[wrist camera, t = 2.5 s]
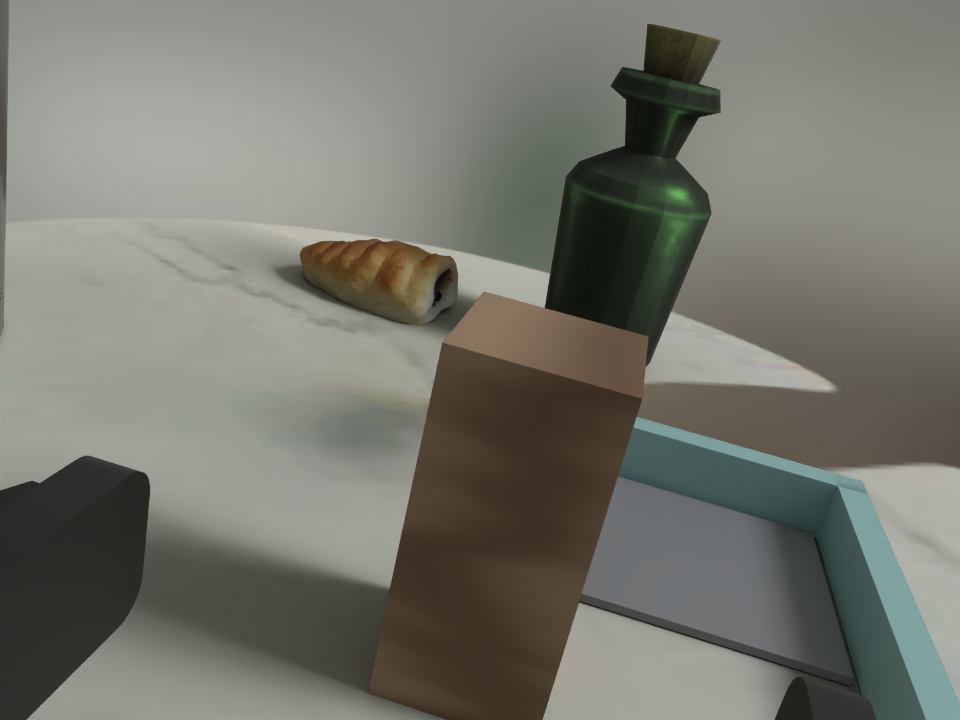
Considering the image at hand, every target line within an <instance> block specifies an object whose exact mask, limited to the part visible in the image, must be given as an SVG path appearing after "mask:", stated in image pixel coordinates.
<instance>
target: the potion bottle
mask: <svg viewBox="0 0 960 720" xmlns="http://www.w3.org/2000/svg"><path fill="white" fill-rule="evenodd" d="M719 43H720V40H718V39H714V38H711V37H706V36H703V35H699V34H694V33H690V32H685V31H681V30H677V29H672V28H667V27H663V26H658V25H653V24H647V36H646V49H645V60H644V71H641V70H636V69H631V68H625V67H622V68H621V70H620V72H619V73H618V75H617V77H616V78H615V80H614V81H613V83H612V85H611V87H612V88H613V89H614V90H615V91H617V92H618V93H619V94H620V95H621V96H623V97H624V98H625V99H626V132H625V146H623V147H620V148H617V149H613V150H611V151H608V152H605V153H602V154H599V155H596V156H593V157H591V158H588V159H585V160H582V161H580V162H578V164H577V165H576V166H575V167H574V168H573V169H572V171H570V173H569V174H568V175H567V176H566V181H565V188H564V193H563V199H562V206H561V212H560V218H559V224H558V230H557V236H556V243H555V249H554V255H553V261H552V267H551V273H550V279H549V285H548V291H547V298H546V304H545V308H546V309H549V310H553V311H557V312H560V313H564V314H568V315H571V316H575V317H579V318H582V319H586V320H590V321H594V322H597V323H601V324H605V325H608V326H612V327H616V328H619V329H623V330H627V331H630V332H634V333H638V334H641V335H645V336H649V337H648V347H647V357H646V366H647V365H648V364H649V363H650V361H651V359H652V356H653V354H654V351H655V349H656V346H657V344H658V342H659V339H660V337H661V334H662V332H663V329H664V327H665V325H666V322H667V320H668V317H669V315H670V313H671V310H672V308H673V305H674V303H675V300H676V298H677V296H678V293H679V290H680V288H681V286H682V284H683V281H684V279H685V276H686V274H687V271H688V269H689V267H690V264H691V262H692V259H693V257H694V255H695V252H696V250H697V247H698V245H699V242H700V240H701V237H702V235H703V233H704V230H705V228H706V225H707V223H708V220H709V218H710V216H711V208H710V203H709V198H708V194H707V193H706V191H705V190H703V188H702V187H701V186H700V185H699V184H698V183H697V181H696V180H695V179H694V178H693V177H692V176H691V175H690V174H689V172H688V171H687V170H686V169H685V168H684V167H683V166H682V165H681V164H680V163H679V162H678V161H677V160H676V156H677V154H678V153H679V151H680V149H681V147H682V146H683V144H684V142H685V141H686V139H687V137H688V135H689V133H690V132H691V130H692V128H693V127H694V125H695V123H696V121H697V119H698V118H699V117H702V116H707V115H712V114H716V113H720V90H718V89H715V88H712V87H708V86H704V85H700V84H699V83H700V81H701V79H702V77H703V75H704V73H705V71H706V69H707V67H708V65H709V63H710V61H711V59H712V57H713V55H714V53H715V51H716V49H717V47H718V45H719Z"/></svg>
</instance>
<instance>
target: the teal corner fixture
mask: <svg viewBox="0 0 960 720" xmlns="http://www.w3.org/2000/svg"><path fill="white" fill-rule="evenodd" d="M814 538H816V539H817V542H818V546H819V549H820V553H821V556H822V560H823V563H824V567H825V570H826V573H827V577H828V580H829V584H830V587H831V591H832V594H833V598H834V601H835V604H836V608H837V611H838V615H839V618H840V622H841V625H842V629H843V632H844V635H845V639H846V642H847V646H848V649H849V653H850V656H851V659H852V663H853V666H854V670H855V673H856V677H857V680H858V684H859V687H860V690H861V694H862V696H864V697H866V698H867V699H868V700H869V701H870V703H871V705H872V707H873V711H874V714H875V717H876V720H960V703H959V701H958V698H957V696H956V694H955V692H954V689H953V687H952V685H951V682H950V680H949V678H948V676H947V673H946V671H945V669H944V666H943V664H942V662H941V660H940V657H939V655H938V653H937V650H936V648H935V646H934V644H933V641H932V639H931V637H930V634H929V632H928V630H927V628H926V625H925V623H924V621H923V618H922V616H921V614H920V612H919V609H918V607H917V605H916V603H915V600H914V598H913V596H912V593H911V591H910V589H909V587H908V584H907V582H906V580H905V577H904V575H903V573H902V571H901V568H900V566H899V564H898V561H897V559H896V557H895V555H894V552H893V550H892V548H891V545H890V543H889V541H888V539H887V536H886V534H885V532H884V529H883V527H882V525H881V523H880V520H879V518H878V516H877V513H876V511H875V509H874V507H873V504H872V502H871V500H870V497H869V495H868V493H867V491H866V488H865V486H864V484H863V482H862V481H860V480H857V479H853V478H849V477H846V476H842V475H839V474H835V473H832V472H828V471H825V470H821V469H818V468H814V467H811V466H807V465H804V464H800V463H797V462H793V461H790V460H786V459H783V458H779V457H776V456H772V455H769V454H765V453H761V452H758V451H755V450H751V449H748V448H744V447H740V446H737V445H733V444H730V443H726V442H723V441H719V440H716V439H712V438H709V437H705V436H702V435H698V434H695V433H691V432H688V431H684V430H681V429H677V428H674V427H670V426H666V425H663V424H660V423H656V422H653V421H649V420H646V419H642V418H639V417H636V421H635V424H634V427H633V430H632V433H631V437H630V440H629V443H628V446H627V450H626V453H625V456H624V459H623V462H622V466H621V469H620V472H619V475H618V478H617V482H616V485H615V488H614V491H613V495H612V498H611V501H610V504H609V507H608V511H607V514H606V517H605V520H604V523H603V527H602V530H601V533H600V536H599V540H598V543H597V546H596V549H595V552H594V556H593V559H592V562H591V565H590V569H589V572H588V575H587V578H586V581H585V585H584V588H583V591H582V594H581V597H580V601H581V602H584V603H587V604H591V605H594V606H597V607H600V608H603V609H607V610H610V611H613V612H616V613H619V614H623V615H626V616H629V617H632V618H635V619H639V620H642V621H645V622H648V623H651V624H655V625H658V626H661V627H664V628H667V629H670V630H674V631H677V632H680V633H683V634H686V635H690V636H693V637H696V638H699V639H702V640H706V641H709V642H712V643H715V644H718V645H722V646H725V647H728V648H731V649H734V650H738V651H741V652H744V653H747V654H750V655H754V656H757V657H760V658H763V659H766V660H770V661H773V662H776V663H779V664H782V665H786V666H789V667H792V668H795V669H798V670H802V671H805V672H808V673H811V674H814V675H817V676H821V677H824V678H827V679H830V680H833V681H837V682H840V683H843V684H846V685H849V686H851V683H852V681H853V679H854V677H853V674H852V670H851V667H850V663H849V660H848V656H847V653H846V649H845V646H844V642H843V639H842V635H841V632H840V628H839V625H838V621H837V618H836V614H835V611H834V607H833V603H832V600H831V596H830V593H829V589H828V586H827V582H826V579H825V575H824V572H823V568H822V565H821V561H820V558H819V554H818V551H817V547H816V544H815V540H814Z"/></svg>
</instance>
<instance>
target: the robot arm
mask: <svg viewBox="0 0 960 720" xmlns="http://www.w3.org/2000/svg"><path fill="white" fill-rule="evenodd" d="M8 37H9V0H0V335H1V333H2V331H3V328H4V272H5V234H6V170H7V169H6V168H7V104H8V41H9V40H8V39H9V38H8ZM149 497H150V483H149V479H148V477H147V475H146V474H145V473H143V472H140V471H137V470H134V469H131V468H127V467H124V466H121V465H118V464H114V463H111V462H108V461H105V460H101V459H98V458H95V457H92V456H83V457H80V458H79V459H77V460H75V461H74V462H72V463H70V464H69V465H67V466H66V467H64V468H63V469H61V470H60V471H58V472H57V473H55V474H54V475H52V476H50V477H49V478H47V479H46V480H44V481H43V482H41V483H37V482H34V481H29V482H26V483H23V484H20V485H17V486H13V487H10V488H7V489H4V490H0V720H26V719H27V718H28V717H29V716H30V715H31V714H32V713H33V712H34V711H35V710H36V709H37V708H38V707H39V706H40V705H41V704H42V703H43V702H44V701H45V700H46V699H47V698H48V697H49V696H50V695H51V694H52V693H53V692H54V691H55V690H56V689H57V688H58V687H59V686H60V685H61V684H62V683H63V682H64V681H65V680H66V679H67V678H68V677H69V676H70V675H71V674H72V673H73V672H74V671H75V670H76V669H77V668H78V667H79V666H80V665H81V664H82V663H83V662H84V661H85V660H86V659H87V658H88V657H89V656H90V655H91V654H92V653H93V652H94V651H95V650H96V649H97V648H98V647H99V646H100V645H101V644H102V643H103V642H104V641H105V640H106V639H107V638H108V637H109V636H110V635H111V634H112V633H113V632H114V631H115V630H116V629H117V628H118V627H119V626H120V625H121V624H122V623H123V621H124V620H125V618H126V617H127V615H128V614H129V612H130V610H131V608H132V607H133V604H134V602H135V600H136V598H137V595H138V592H139V589H140V585H141V581H142V575H143V563H144V552H145V541H146V530H147V519H148V508H149ZM775 720H876V717H875V714H874V711H873V707H872V705H871V703H870V701H869V700H868V699H867V698H866V697H864V696H861V695H858V694H854V693H851V692H848V691H845V690H841V689H838V688H835V687H832V686H828V685H825V684H822V683H819V682H815V681H812V680H809V679H806V678H802V677H796V678H795V679H794V680H793V681H792V682H791V684H790V686H789V687H788V689H787V691H786V694H785V696H784V698H783V701H782V703H781V706H780V708H779V710H778V713H777V715H776V717H775Z"/></svg>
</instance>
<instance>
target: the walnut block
mask: <svg viewBox="0 0 960 720" xmlns="http://www.w3.org/2000/svg"><path fill="white" fill-rule="evenodd" d="M648 337H649V336H645V335H641V334H638V333H634V332H630V331H627V330H623V329H619V328H616V327H612V326H608V325H605V324H601V323H597V322H594V321H590V320H586V319H582V318H579V317H575V316H571V315H568V314H564V313H560V312H557V311H553V310H549V309H546V308H542V307H538V306H535V305H531V304H527V303H524V302H520V301H516V300H513V299H509V298H505V297H502V296H498V295H494V294H491V293H487V292H483V293H482V295H481V296H480V297H479V298H478V300H477V301H476V302H475V303H474V304H473V306H472V307H471V308H470V309H469V311H468V312H467V313H466V314H465V315H464V317H463V318H462V319H461V320H460V322H459V323H458V324H457V325H456V326H455V328H454V329H453V330H452V331H451V333H450V334H449V335H448V336H447V337H446V339H445V340H444V341H443V342H442V347H441V351H440V356H439V361H438V365H437V370H436V375H435V380H434V384H433V389H432V394H431V398H430V403H429V408H428V412H427V417H426V422H425V427H424V431H423V436H422V441H421V445H420V450H419V455H418V459H417V464H416V469H415V474H414V478H413V483H412V488H411V492H410V497H409V502H408V506H407V511H406V516H405V521H404V525H403V530H402V535H401V539H400V544H399V549H398V553H397V558H396V563H395V567H394V572H393V577H392V582H391V586H390V591H389V596H388V600H387V605H386V610H385V614H384V619H383V624H382V629H381V633H380V638H379V643H378V647H377V652H376V657H375V661H374V666H373V671H372V676H371V680H370V685H369V690H368V693H370V694H373V695H376V696H379V697H382V698H385V699H388V700H391V701H394V702H397V703H400V704H403V705H406V706H409V707H412V708H415V709H418V710H421V711H424V712H427V713H430V714H433V715H436V716H439V717H442V718H445V719H448V720H543V716H544V713H545V710H546V707H547V704H548V700H549V697H550V694H551V691H552V688H553V684H554V681H555V678H556V675H557V671H558V668H559V665H560V662H561V659H562V655H563V652H564V649H565V646H566V642H567V639H568V636H569V633H570V630H571V626H572V623H573V620H574V617H575V614H576V610H577V607H578V604H579V601H580V597H581V594H582V591H583V588H584V585H585V581H586V578H587V575H588V572H589V569H590V565H591V562H592V559H593V556H594V552H595V549H596V546H597V543H598V540H599V536H600V533H601V530H602V527H603V523H604V520H605V517H606V514H607V511H608V507H609V504H610V501H611V498H612V495H613V491H614V488H615V485H616V482H617V478H618V475H619V472H620V469H621V466H622V462H623V459H624V456H625V453H626V450H627V446H628V443H629V440H630V437H631V433H632V430H633V427H634V424H635V421H636V417H637V414H638V411H639V407H640V404H641V401H642V396H643V387H644V377H645V367H646V357H647V347H648Z"/></svg>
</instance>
